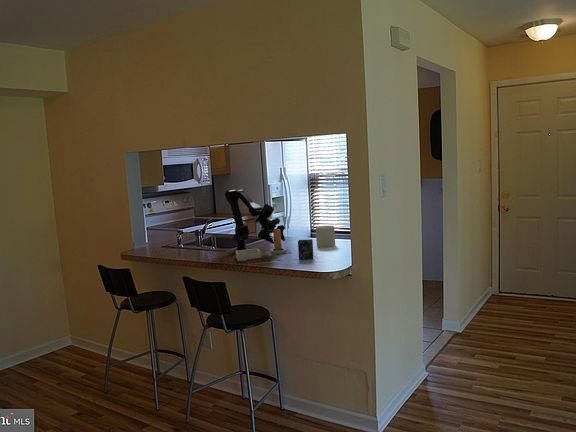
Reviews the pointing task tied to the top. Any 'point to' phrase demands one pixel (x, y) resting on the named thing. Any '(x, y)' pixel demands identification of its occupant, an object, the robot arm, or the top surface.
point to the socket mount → (278, 252)
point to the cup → (325, 236)
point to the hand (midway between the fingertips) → (279, 242)
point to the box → (305, 249)
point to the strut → (277, 239)
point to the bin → (247, 254)
